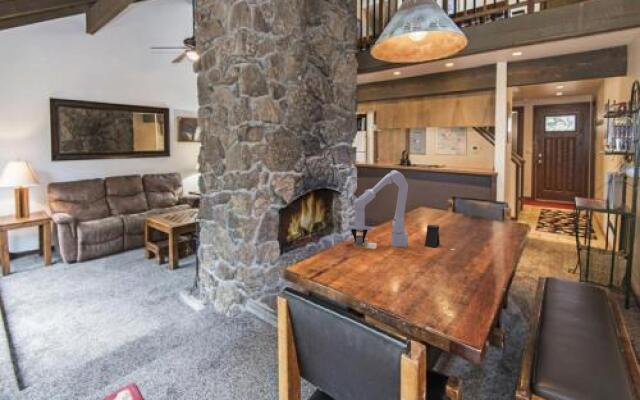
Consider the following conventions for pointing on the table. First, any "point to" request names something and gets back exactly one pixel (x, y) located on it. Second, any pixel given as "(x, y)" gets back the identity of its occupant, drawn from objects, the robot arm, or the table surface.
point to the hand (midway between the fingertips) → (359, 242)
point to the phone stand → (432, 236)
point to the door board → (365, 244)
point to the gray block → (359, 239)
